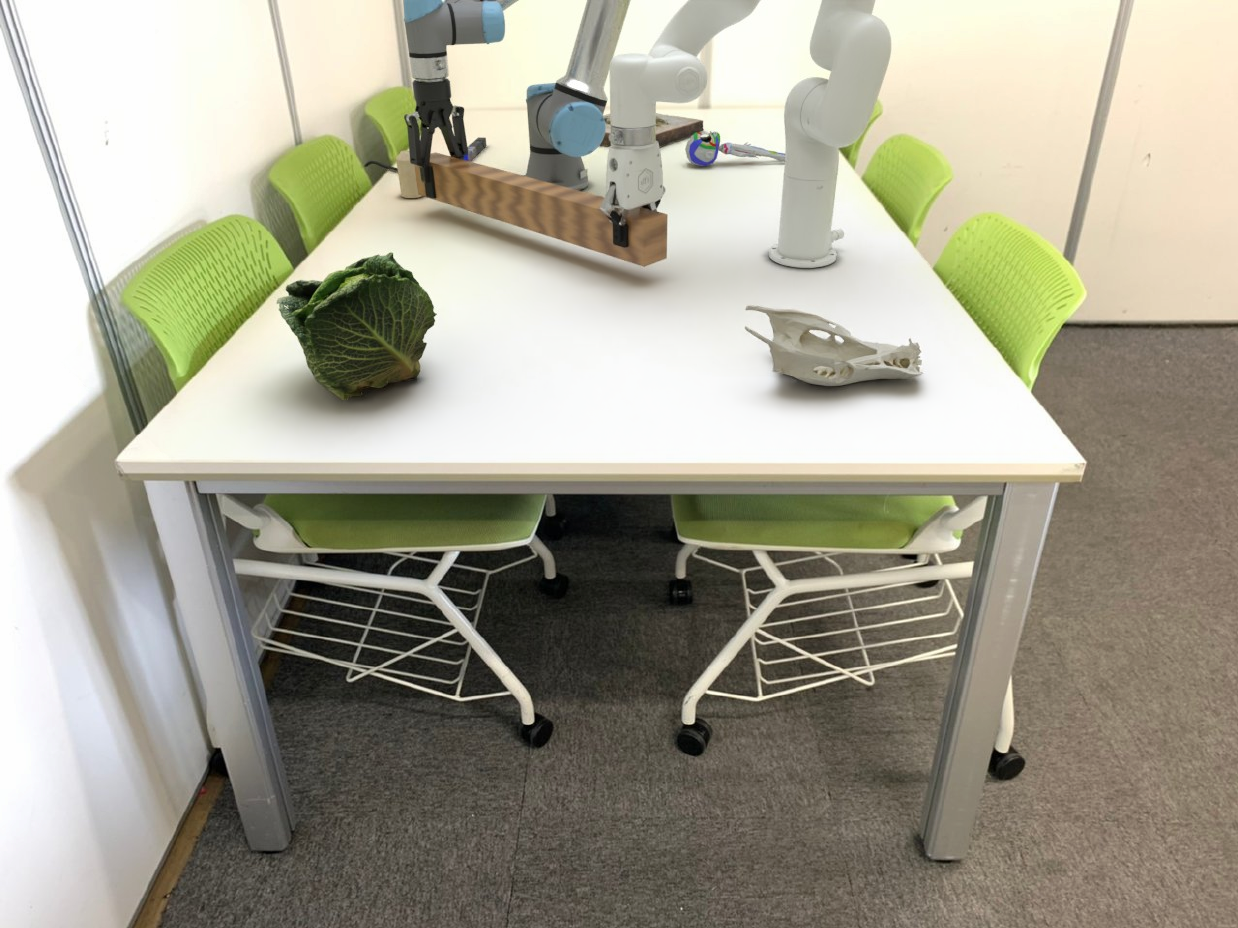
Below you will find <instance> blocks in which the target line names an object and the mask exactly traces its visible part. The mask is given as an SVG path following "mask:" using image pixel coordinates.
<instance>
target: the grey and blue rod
mask: <svg viewBox="0 0 1238 928" xmlns="http://www.w3.org/2000/svg"><path fill="white" fill-rule="evenodd" d="M467 147H468V155H465V156H464V160H466V161H470V162H472V160H473V159H474V158H475V157H476V156H477V155H478V154H479V153H480V152H482V151H483V150H484V149H485V148H486V147H487V138H486V137H480V136H479V137H477V138H476V139H475V140H474V141H472V142H471V143H470V144H469V145H467Z"/></svg>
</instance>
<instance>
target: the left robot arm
mask: <svg viewBox="0 0 1238 928" xmlns="http://www.w3.org/2000/svg"><path fill="white" fill-rule="evenodd" d="M631 1H632V0H586V2H585V7H584V10H583V14H582V17H581V20H580V22H579V27H578V31H577V34H576V38H575V40H574V45H573V48H572V51H571V55H570V59H569V62H568V65H567V69H566V72H565V74H564V76H562V77H560V78H557V79H556V81H555V82H550V83H549V82H548V83H547V82H546V83H538V84H531V85H529V86H528V87H527V89H526V99H525V103H526V112H527V125H528V126H527V127H528V140H529V141H528V142H529V157H528V162H527V168H526V172H525V174H523V175H522V174H521V175H522V176H526V177H530V178H533V179H537V180H541V181H545V182H548V183H552V184H556V185H560V186H563V187H567V188H571V189H575V190H578V191H583V190H584V189H586V188H587V187H589V175H588V168H585V164H584V161H583V158H582V157H586V156H588V155H591V154H592V153H593V152H595V151H596V150H597V149H598V148H599V147H600V146H601V145H600V144H601V142H602V141H603V138H604V135H605V130H606V125H605V120H604V117H603V115H604V114H605V110H606V107H607V103H608V95H607V94H606V92H605V85H606V82H607V79H608V75H609V74H610V73H609V69H610V62H611V60H612V58H613V57H615V52H616V50H617V46H618V43H619V40H620V36H621V33H622V30H623V26H624V24H625V20H626V17H627V13H628V10H629V7H630V4H631ZM402 2H403V3H402V4H403V5H402V7H403V17H404V18H403V21H404V28H405V35H406V43H407V50H408V58H409V68H410V77H411V78H412V79H414V80H413V81H412V82H411V84H412V91H413V98H414V101H415V108H414V111H413V112H412V113H409V114H407V113H406V114H404V116H403V119H404V121H405V124H406V128H407V141H408V151H409V154H410V163H411V164H414V165H417V166H419V167H420V175H421V180H422V182H424V183H425V192H426V197H425V198H427V197H429V198H428V199H430V198H433V199H432V200H434V199H435V198H436V190H435V181H434V173H433V167H431V166H429V162H430V154H431V153H432V145H433V138H434V137H433V136H434V134H435V133H436V132H435V131H436V129H437V128H438V129H439V130H440V133H441V135H442V137H443V141H444V142H445V145H446V148H447V151H448V153H449V156H451V157H455V158H458V159H462V160H464V156H465V155H468V142H467V134H466V129H465V122H464V121H465V119H464V116H465V107H463V106H459V105H455V104H454V105H453V103H452V101H451V99H452V88H451V87H452V86H451V81H450V80H449V78H448V77H449V76H450V70H449V62H448V51H447V49H448V48H447V47H448V46H456V45H457V46H458V45H480V44H483V45H485V44H486V45H490V44H493V43H500V42H502V41H503V40H504V38H505V33H506V19H505V13H504V11H506V10H507V9H508V8H510V7H512V6H513V5H514V4H516V3H517V2H519V0H402ZM450 117H451V119H450ZM451 121H452V122H451ZM419 124H420V126H419ZM370 165H377V166H379V167H381V168H384V169H387V170H391V171H394V172H398V169H397V167H394V166H392V165H391V166H390V165H387V164H384V163H382V162H379V161H376V160H369V161H367V162H366V163H365V164H364V167H365V168H367V167H368V166H370Z"/></svg>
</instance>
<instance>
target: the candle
mask: <svg viewBox="0 0 1238 928" xmlns="http://www.w3.org/2000/svg"><path fill="white" fill-rule="evenodd" d="M395 159H396V160H395V161H396V168H397V169H398V171H397V174H398V175H397V176H398V182H399V188H400V195H401V197H402V198H405V199H417V198H422V197H423V196H421V195H418V189H417V181H416V174H415V166H414V164H411V163H410V154H409V150H405V149H404V150H401V151H400V152H399V153H398V155H397V156H396V157H395Z"/></svg>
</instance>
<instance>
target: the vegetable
mask: <svg viewBox="0 0 1238 928" xmlns="http://www.w3.org/2000/svg"><path fill="white" fill-rule="evenodd" d="M285 291H286V292H287V294H288V295H285V296H281V297H278V298H277V300H276V304H278V305H279V308H278V311H279V312H280V315H281V318H282V319H283V320H284V321H285V323H286V324H287V325H288V326H289V329H290V330H291V332H292V333H293V334H294V335H295V337H296V338H297V341H298V343H299V345H300V347H301V348H302V351H303V354H304V357H305V361H306V366H307V367H308V369H309V371H310V372H311V374H312V376H313V378H314V380H315V381H316V382H317V383H318V384H319V385H320V386H321V387H323V388H324V389H326V390H328V391H329V392H332V393H333V394H334V395H336V396H337V397H338V398H339V399H341V400H342V401H348V400H349V399H350V398H351V397H363V396H364V394H363V392H362V391H363V390H364V389H369V388H378V389H379V388H381V389H382V388H383V387H385V386H387V385H388V383H391V384H392V383H398V382H401V381H403V380H406V381H417V380H418V378H419V377H418V376H419V375H420V373H421V363H420V359H421V358H422V357H423V354H424V352H425V350H426V347H427V344H428V342H424V339H425V335H427V332H428V331H429V330H430V329H431V328H433V327H434V326H435V323H436V319H435V317H436V316H437V315H438V313H435V311H434V309H435V306H434V304H433V301H432V298H431V297H430V295H429V294H428V292H427V291H426V290H425V289H424V288H423V287H422V286H421V285H420V283H419V281H418V280H417V279H416V278H415V277H414V275H413V271H410V270H409V269H405V268H404V267H403V266H402V265H401V264H400V263H399V262H398V261H397V259H395V258H394V252H391V251H390V252H388V253H387V254H385V255H380V254H378V253H377V254H375V255H373V256H369V257H363V258H361V259H359V260H357V261H356V262H354V263H352V264H350V265H348V266H346V267H345V269H341V270H336V271H333V272H331V273H328V275H326V277H324V279H323V280H322V281H321V280H314V279H310V280H304V279H299V280H296V281H294V282H293V281H292V283H289V284H287V285H286V286H285Z"/></svg>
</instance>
